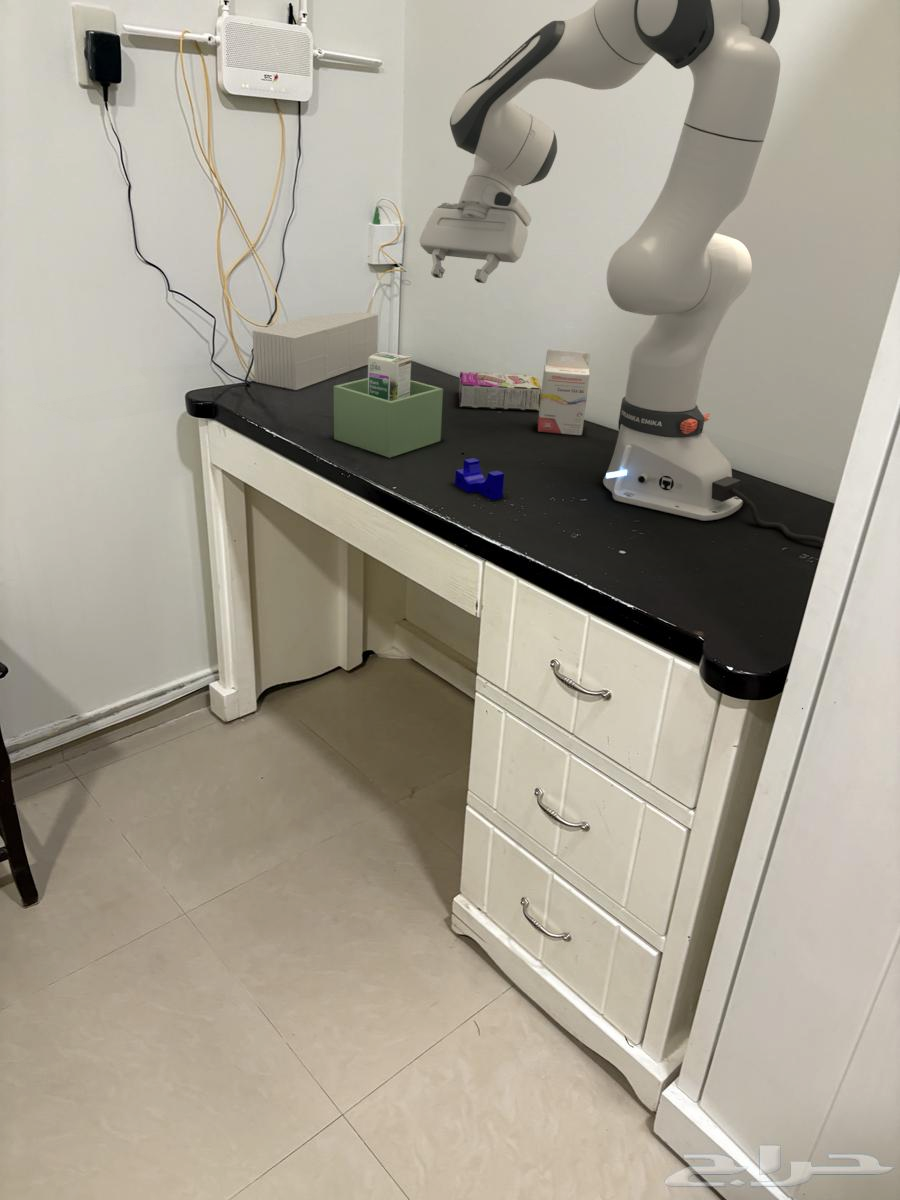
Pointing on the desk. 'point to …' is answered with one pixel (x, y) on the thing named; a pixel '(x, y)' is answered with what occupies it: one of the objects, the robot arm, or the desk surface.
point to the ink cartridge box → (564, 392)
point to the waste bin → (387, 418)
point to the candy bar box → (499, 391)
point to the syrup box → (389, 376)
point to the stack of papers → (313, 348)
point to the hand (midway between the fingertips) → (457, 278)
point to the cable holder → (479, 480)
